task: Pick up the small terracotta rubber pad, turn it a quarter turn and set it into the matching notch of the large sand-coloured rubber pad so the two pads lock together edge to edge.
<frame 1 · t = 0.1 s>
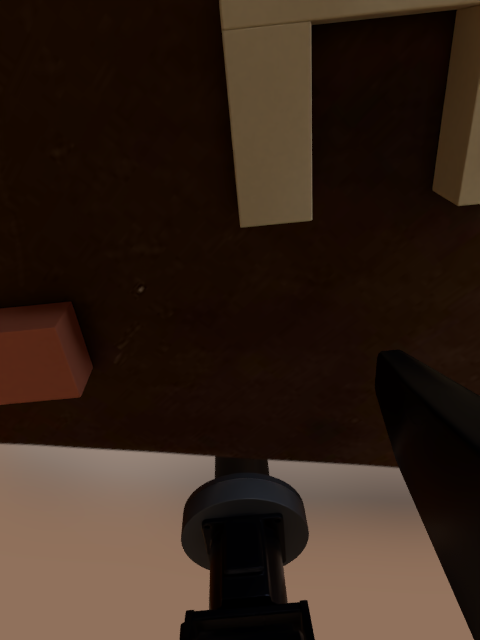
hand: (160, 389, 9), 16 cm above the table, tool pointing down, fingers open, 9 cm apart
terracotta pad: (28, 341, 27), on the table
base pad: (377, 18, 19), on the table
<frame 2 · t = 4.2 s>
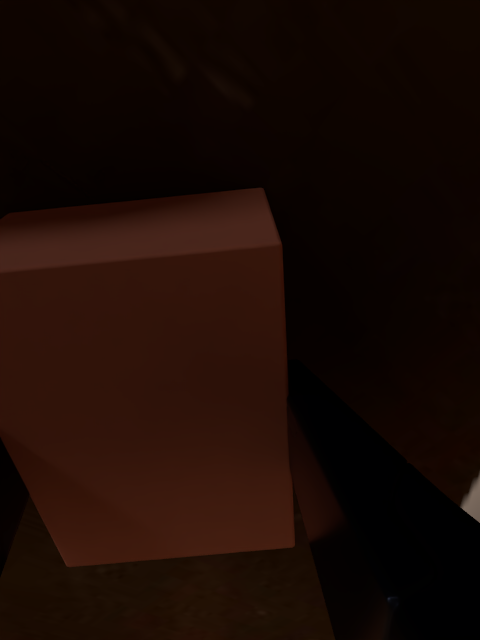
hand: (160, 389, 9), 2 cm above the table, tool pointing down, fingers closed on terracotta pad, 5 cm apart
terracotta pad: (167, 347, 10), on the table, touching gripper
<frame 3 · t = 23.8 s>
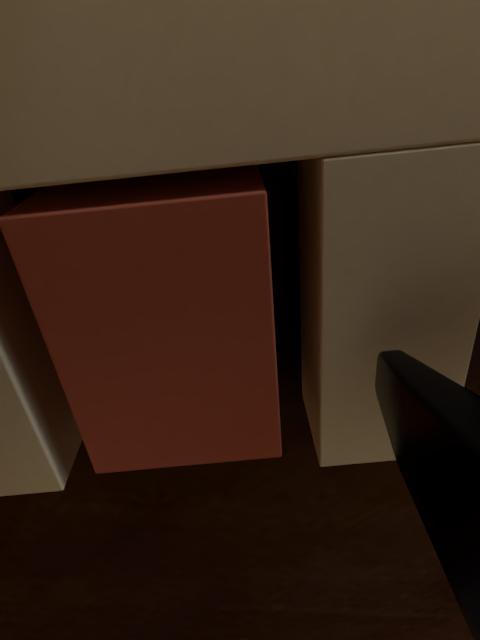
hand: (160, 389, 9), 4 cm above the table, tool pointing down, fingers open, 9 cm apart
terracotta pad: (176, 297, 12), on the table
base pad: (148, 149, 10), on the table
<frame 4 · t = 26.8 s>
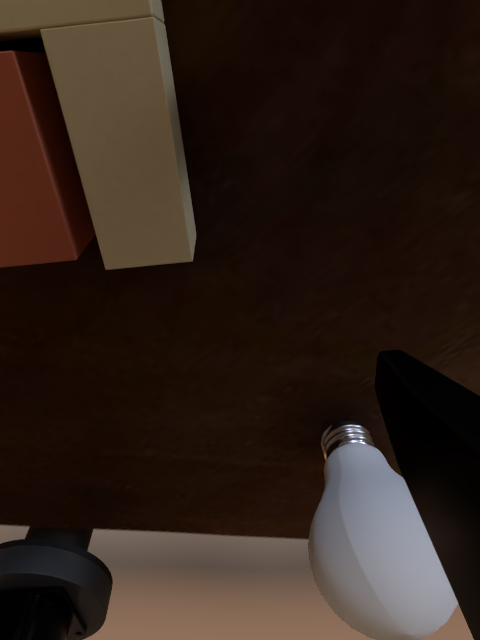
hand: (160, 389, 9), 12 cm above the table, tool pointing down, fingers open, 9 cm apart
terracotta pad: (13, 158, 18), on the table
light bulb: (341, 426, 26), on the table
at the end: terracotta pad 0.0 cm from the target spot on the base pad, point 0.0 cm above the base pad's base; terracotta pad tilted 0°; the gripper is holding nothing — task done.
